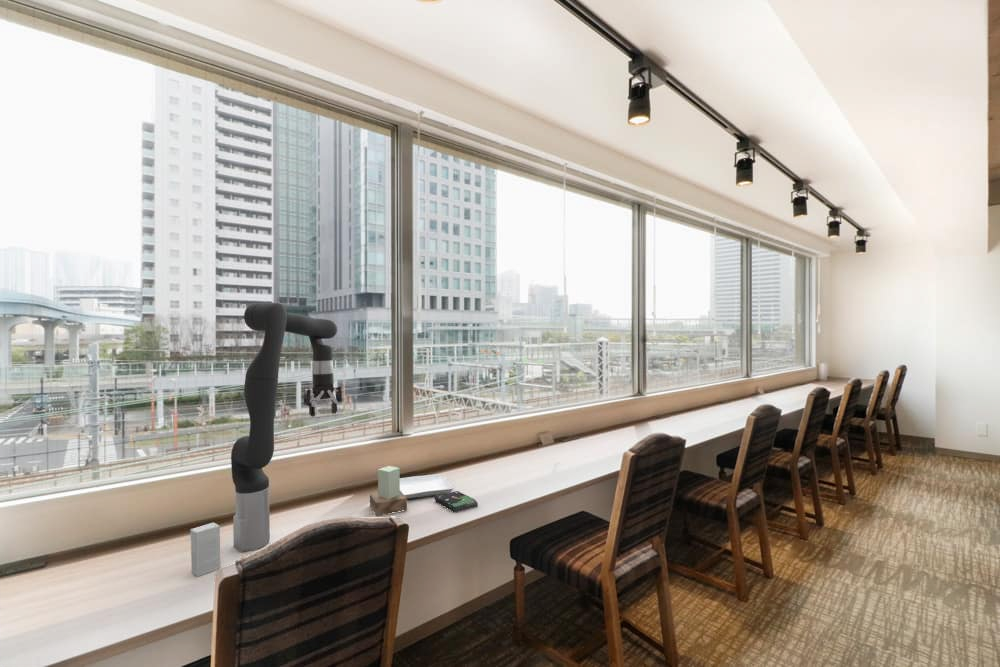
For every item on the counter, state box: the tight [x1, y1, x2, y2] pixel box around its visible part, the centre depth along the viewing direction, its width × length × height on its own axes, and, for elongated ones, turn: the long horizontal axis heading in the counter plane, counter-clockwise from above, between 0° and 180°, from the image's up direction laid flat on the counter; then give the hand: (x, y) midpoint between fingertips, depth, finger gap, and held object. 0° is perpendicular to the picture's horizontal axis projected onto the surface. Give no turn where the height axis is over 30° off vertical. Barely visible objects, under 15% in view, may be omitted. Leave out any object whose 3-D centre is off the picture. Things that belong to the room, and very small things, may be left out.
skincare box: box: [190, 522, 222, 577], centre depth 130 cm, size 6×4×12 cm
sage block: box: [377, 465, 401, 499], centre depth 175 cm, size 6×6×10 cm
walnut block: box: [369, 491, 408, 517], centre depth 174 cm, size 11×11×5 cm
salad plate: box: [400, 473, 454, 500], centre depth 194 cm, size 21×21×3 cm
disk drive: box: [434, 490, 478, 513], centre depth 178 cm, size 10×3×15 cm
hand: (323, 414), depth 180 cm, fingers open, 8 cm apart
